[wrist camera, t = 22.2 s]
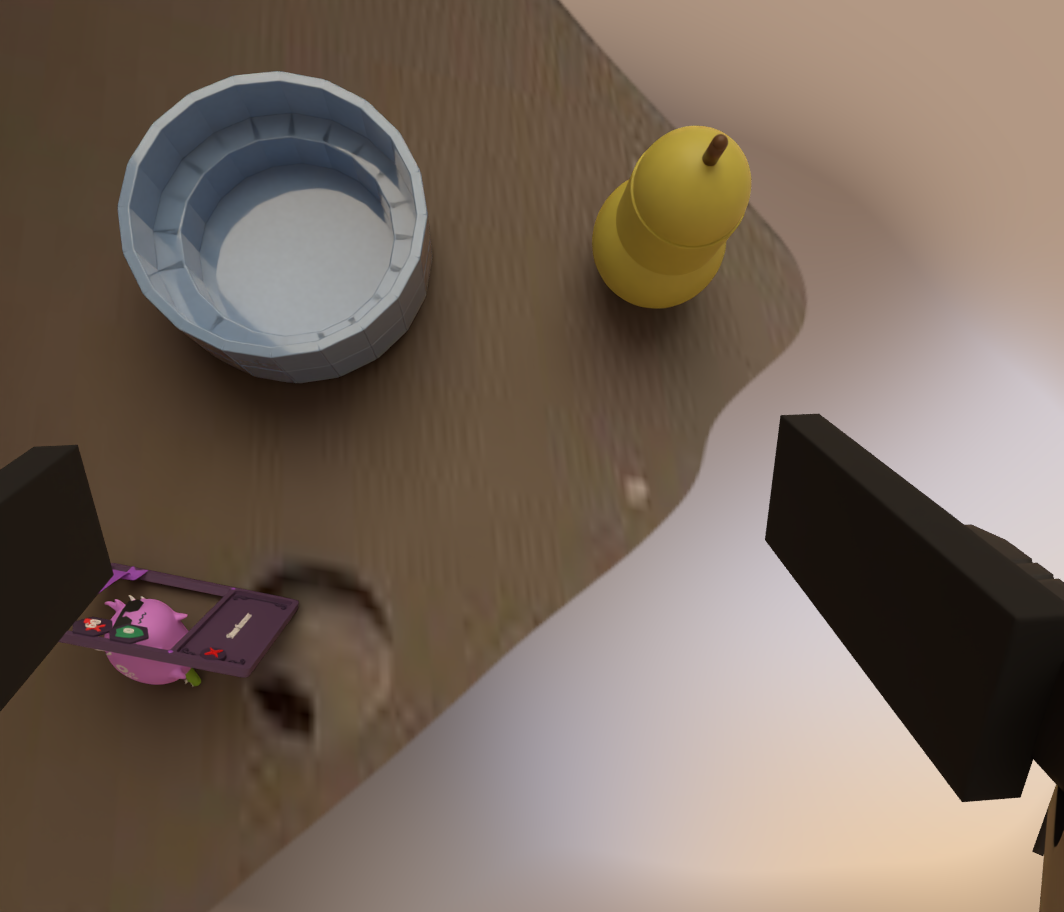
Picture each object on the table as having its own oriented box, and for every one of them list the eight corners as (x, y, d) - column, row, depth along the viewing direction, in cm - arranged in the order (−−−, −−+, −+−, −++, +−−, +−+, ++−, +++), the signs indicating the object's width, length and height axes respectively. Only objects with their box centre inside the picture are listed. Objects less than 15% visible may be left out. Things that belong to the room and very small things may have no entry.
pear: (557, 266, 38) (599, 134, 26) (638, 187, 39) (716, 23, 27) (645, 350, 38) (729, 257, 26) (724, 268, 39) (842, 142, 27)
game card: (251, 652, 28) (15, 606, 28) (233, 769, 29) (4, 726, 29) (302, 586, 35) (111, 547, 34) (285, 683, 36) (100, 647, 35)
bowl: (114, 256, 36) (52, 205, 31) (307, 92, 38) (280, 16, 33) (298, 438, 36) (269, 419, 31) (483, 263, 38) (486, 215, 33)
